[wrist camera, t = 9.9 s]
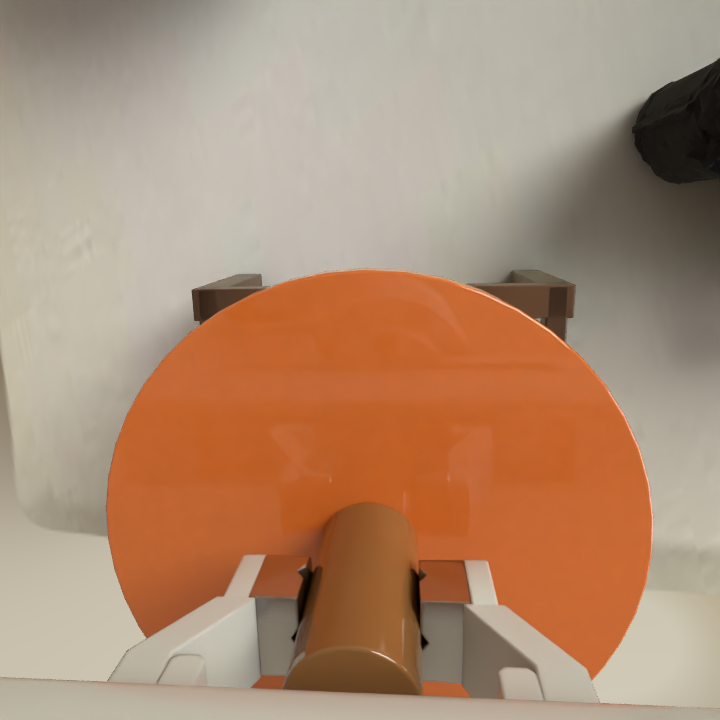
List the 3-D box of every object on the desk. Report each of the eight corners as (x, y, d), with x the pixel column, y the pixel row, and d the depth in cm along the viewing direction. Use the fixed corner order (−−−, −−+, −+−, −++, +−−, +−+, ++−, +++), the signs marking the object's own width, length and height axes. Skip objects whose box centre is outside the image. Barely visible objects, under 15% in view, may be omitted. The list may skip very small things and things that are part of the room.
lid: (154, 718, 18) (25, 973, 12) (97, 269, 15) (-120, 305, 9) (613, 740, 17) (729, 1033, 11) (660, 261, 14) (863, 294, 8)
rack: (251, 488, 30) (214, 552, 24) (236, 274, 28) (191, 289, 22) (527, 492, 29) (557, 561, 23) (538, 270, 26) (576, 284, 21)
